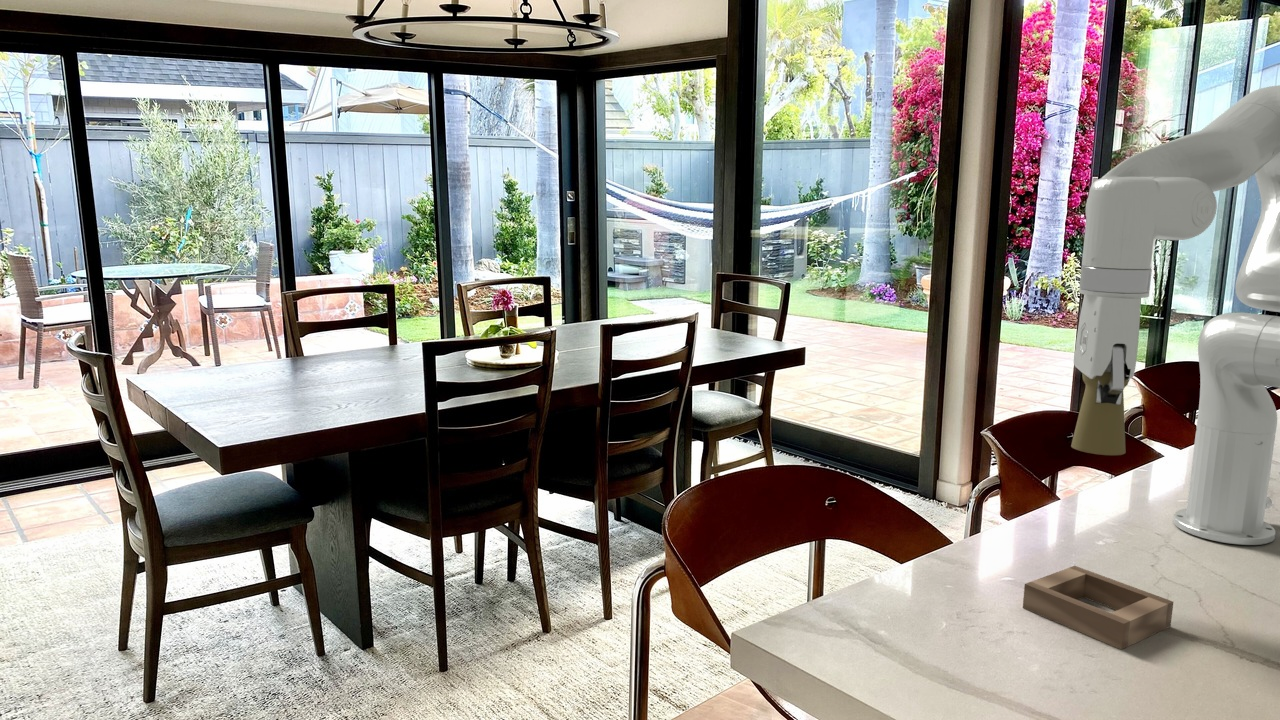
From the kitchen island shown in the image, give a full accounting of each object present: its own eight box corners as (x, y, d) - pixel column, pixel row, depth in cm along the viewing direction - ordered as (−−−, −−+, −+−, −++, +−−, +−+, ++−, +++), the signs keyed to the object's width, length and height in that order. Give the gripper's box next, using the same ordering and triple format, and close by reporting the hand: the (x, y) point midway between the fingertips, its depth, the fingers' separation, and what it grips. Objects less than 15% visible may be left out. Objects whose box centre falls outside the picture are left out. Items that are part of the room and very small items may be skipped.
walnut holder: (1072, 588, 116) (1074, 565, 116) (1170, 626, 106) (1173, 601, 106) (1022, 607, 111) (1024, 583, 110) (1121, 649, 101) (1124, 623, 100)
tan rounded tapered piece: (1131, 457, 111) (1141, 365, 110) (1076, 452, 113) (1085, 362, 111) (1118, 445, 117) (1127, 358, 115) (1066, 441, 118) (1075, 355, 117)
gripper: (1066, 275, 120) (1053, 415, 124) (1097, 288, 105) (1080, 447, 108) (1130, 277, 119) (1114, 419, 122) (1170, 290, 103) (1151, 451, 107)
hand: (1098, 430), depth 115 cm, fingers closed on tan rounded tapered piece, 2 cm apart
